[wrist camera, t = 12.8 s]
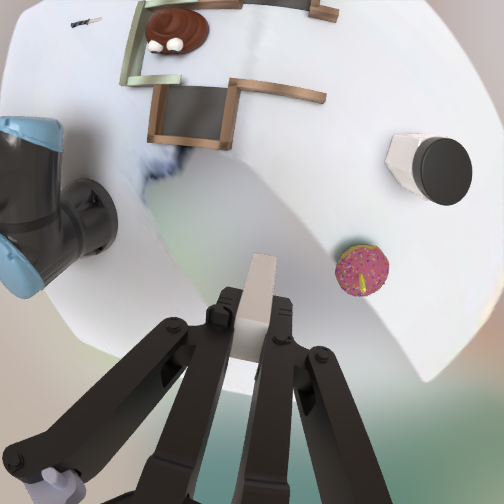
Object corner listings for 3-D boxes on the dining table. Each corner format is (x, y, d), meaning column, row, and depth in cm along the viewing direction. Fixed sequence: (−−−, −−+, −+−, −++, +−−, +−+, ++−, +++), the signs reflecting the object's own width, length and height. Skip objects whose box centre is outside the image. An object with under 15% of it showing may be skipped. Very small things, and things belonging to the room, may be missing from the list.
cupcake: (322, 266, 44) (330, 310, 33) (350, 224, 40) (369, 259, 30) (361, 287, 45) (378, 332, 34) (390, 249, 41) (416, 287, 30)
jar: (387, 188, 37) (420, 211, 26) (379, 136, 34) (413, 140, 23) (434, 181, 35) (476, 202, 24) (429, 131, 32) (472, 137, 21)
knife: (71, 33, 30) (68, 32, 29) (73, 23, 29) (70, 22, 28) (149, 10, 28) (146, 8, 27) (151, -1, 27) (149, -2, 26)
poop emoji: (215, 13, 28) (196, -12, 20) (204, 58, 32) (181, 41, 24) (157, 16, 29) (129, -3, 20) (146, 59, 33) (114, 47, 24)
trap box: (126, 139, 39) (112, 141, 35) (161, -29, 24) (152, -38, 20) (311, 163, 37) (313, 167, 34) (340, -23, 22) (344, -34, 19)
